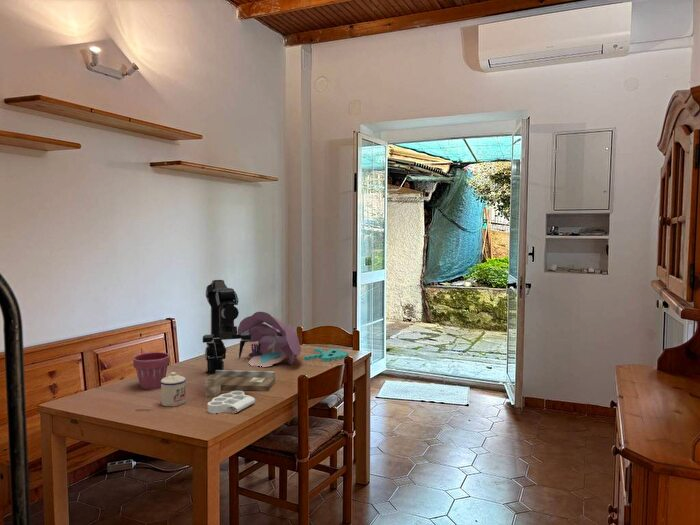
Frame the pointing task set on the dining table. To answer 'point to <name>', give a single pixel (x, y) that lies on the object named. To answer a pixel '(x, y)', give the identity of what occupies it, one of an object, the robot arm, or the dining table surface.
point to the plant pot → (151, 368)
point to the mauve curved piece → (270, 339)
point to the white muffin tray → (230, 402)
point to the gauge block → (213, 385)
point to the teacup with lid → (173, 390)
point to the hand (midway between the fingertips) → (228, 358)
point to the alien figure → (327, 354)
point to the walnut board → (246, 380)
